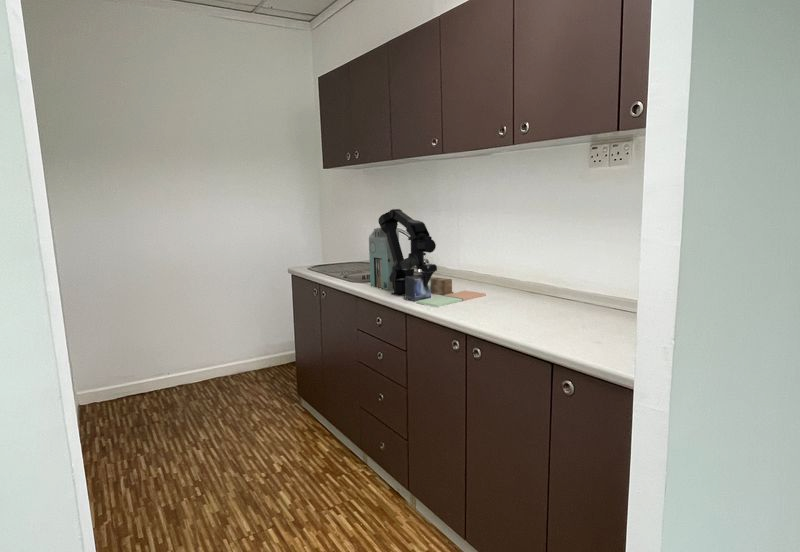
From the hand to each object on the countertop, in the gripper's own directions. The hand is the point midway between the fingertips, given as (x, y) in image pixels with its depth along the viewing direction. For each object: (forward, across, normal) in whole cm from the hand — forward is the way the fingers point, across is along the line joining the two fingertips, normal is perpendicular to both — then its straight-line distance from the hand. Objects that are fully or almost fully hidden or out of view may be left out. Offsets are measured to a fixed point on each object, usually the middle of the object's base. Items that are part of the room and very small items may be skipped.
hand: (417, 285), depth 231 cm
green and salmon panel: (+6, +12, +9) cm, 16 cm away
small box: (+6, 0, 0) cm, 6 cm away
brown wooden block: (+6, -3, +16) cm, 17 cm away
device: (+6, -34, +10) cm, 36 cm away
